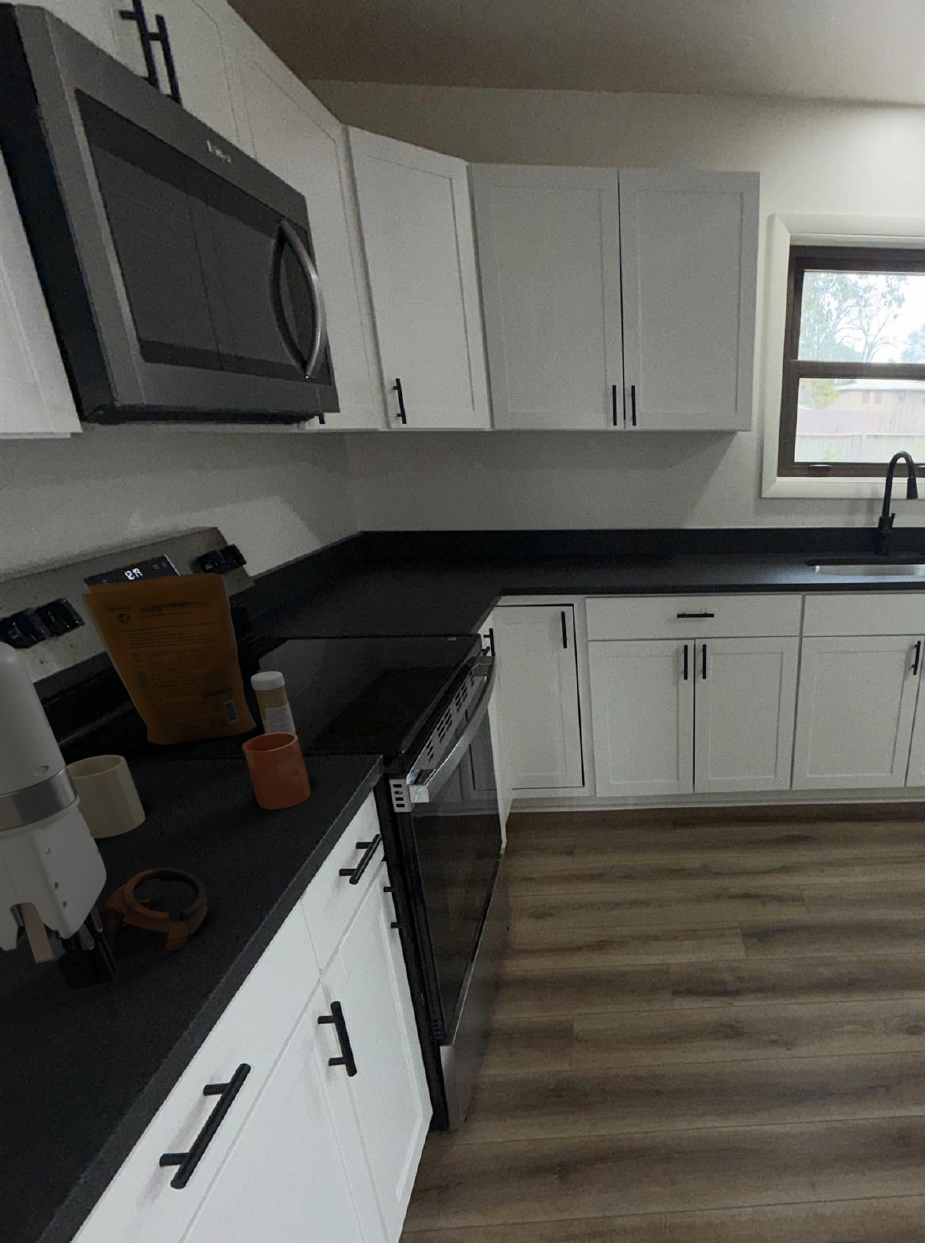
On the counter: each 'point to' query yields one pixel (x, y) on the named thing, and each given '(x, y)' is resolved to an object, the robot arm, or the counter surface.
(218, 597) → the pancake mix bag
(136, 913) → the reddish-brown ring-shaped piece
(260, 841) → the counter surface
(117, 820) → the cream cup
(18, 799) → the robot arm
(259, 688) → the sprinkles bottle
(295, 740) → the terracotta cup
